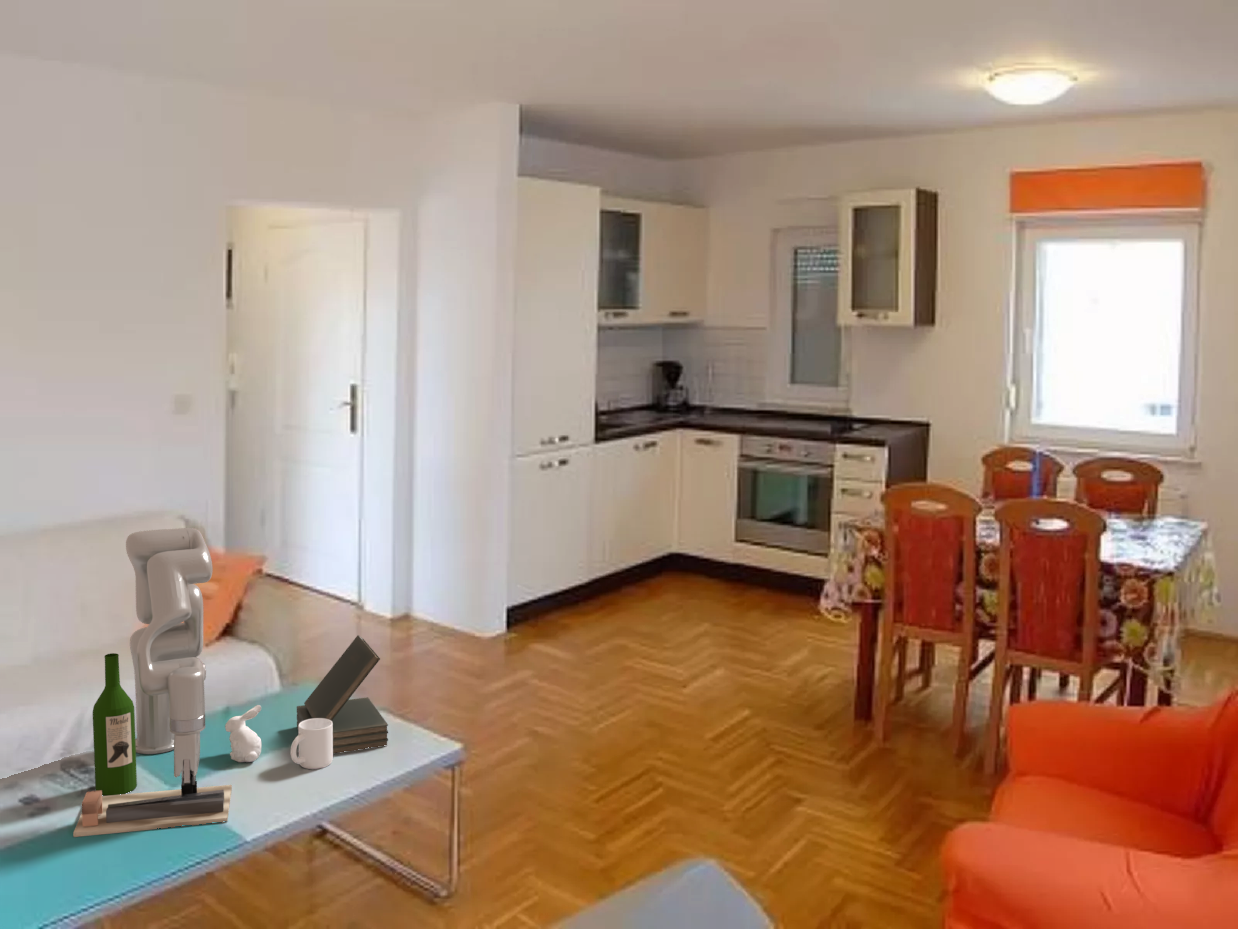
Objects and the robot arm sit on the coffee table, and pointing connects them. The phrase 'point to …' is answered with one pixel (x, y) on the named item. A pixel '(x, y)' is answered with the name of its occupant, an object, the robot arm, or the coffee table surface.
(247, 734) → the rabbit
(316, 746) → the mug
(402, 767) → the coffee table surface
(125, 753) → the wine bottle
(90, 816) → the brown arch block
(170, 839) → the coffee table surface
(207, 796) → the bar
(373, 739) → the stack of books
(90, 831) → the board
